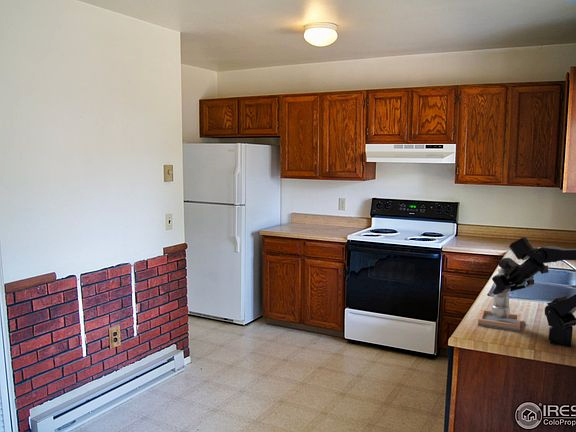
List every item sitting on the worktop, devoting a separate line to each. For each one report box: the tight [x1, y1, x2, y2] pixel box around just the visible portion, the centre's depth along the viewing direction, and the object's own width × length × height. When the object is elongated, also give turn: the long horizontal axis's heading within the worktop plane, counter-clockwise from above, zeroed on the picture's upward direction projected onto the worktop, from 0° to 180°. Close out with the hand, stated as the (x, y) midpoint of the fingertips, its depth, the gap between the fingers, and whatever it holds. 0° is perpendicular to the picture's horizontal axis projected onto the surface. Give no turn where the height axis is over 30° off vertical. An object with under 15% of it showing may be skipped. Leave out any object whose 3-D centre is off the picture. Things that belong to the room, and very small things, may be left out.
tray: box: [477, 308, 521, 332], centre depth 190 cm, size 14×14×2 cm
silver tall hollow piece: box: [490, 265, 511, 319], centre depth 189 cm, size 6×7×20 cm
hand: (498, 292), depth 190 cm, fingers closed on silver tall hollow piece, 6 cm apart
